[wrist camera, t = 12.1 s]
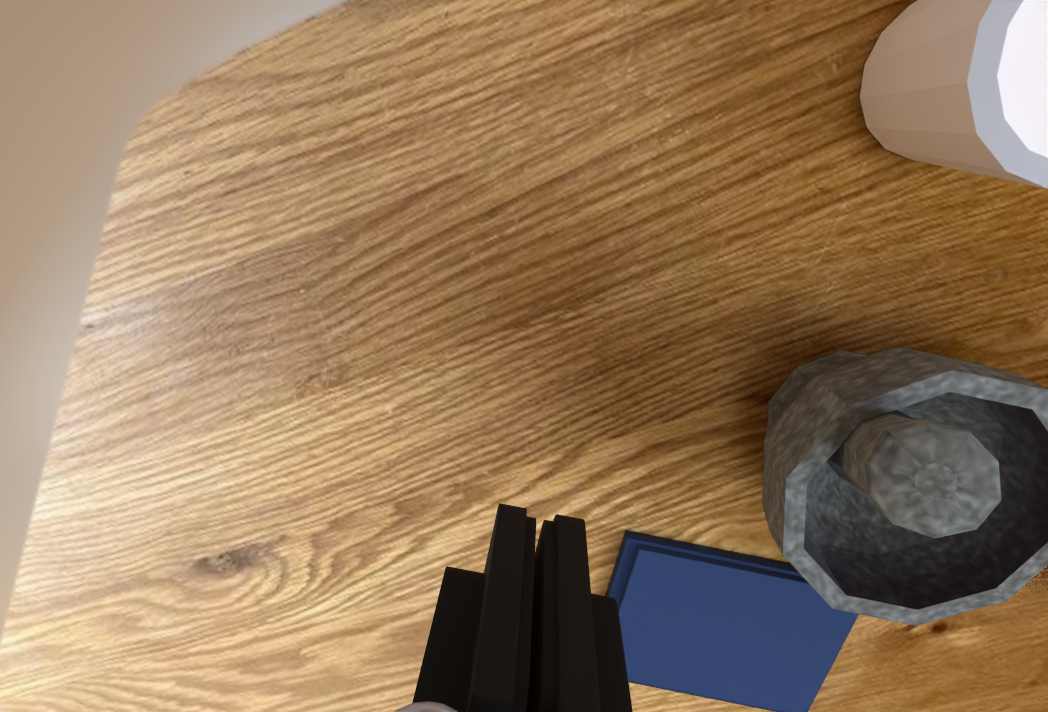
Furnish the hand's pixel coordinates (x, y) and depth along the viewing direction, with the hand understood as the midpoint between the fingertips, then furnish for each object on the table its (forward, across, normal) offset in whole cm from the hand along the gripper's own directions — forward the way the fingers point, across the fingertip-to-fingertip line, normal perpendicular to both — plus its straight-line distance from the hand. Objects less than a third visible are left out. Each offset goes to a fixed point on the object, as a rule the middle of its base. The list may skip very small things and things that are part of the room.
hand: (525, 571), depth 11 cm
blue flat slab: (+14, -12, +14) cm, 23 cm away
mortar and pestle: (+14, -13, +1) cm, 20 cm away
